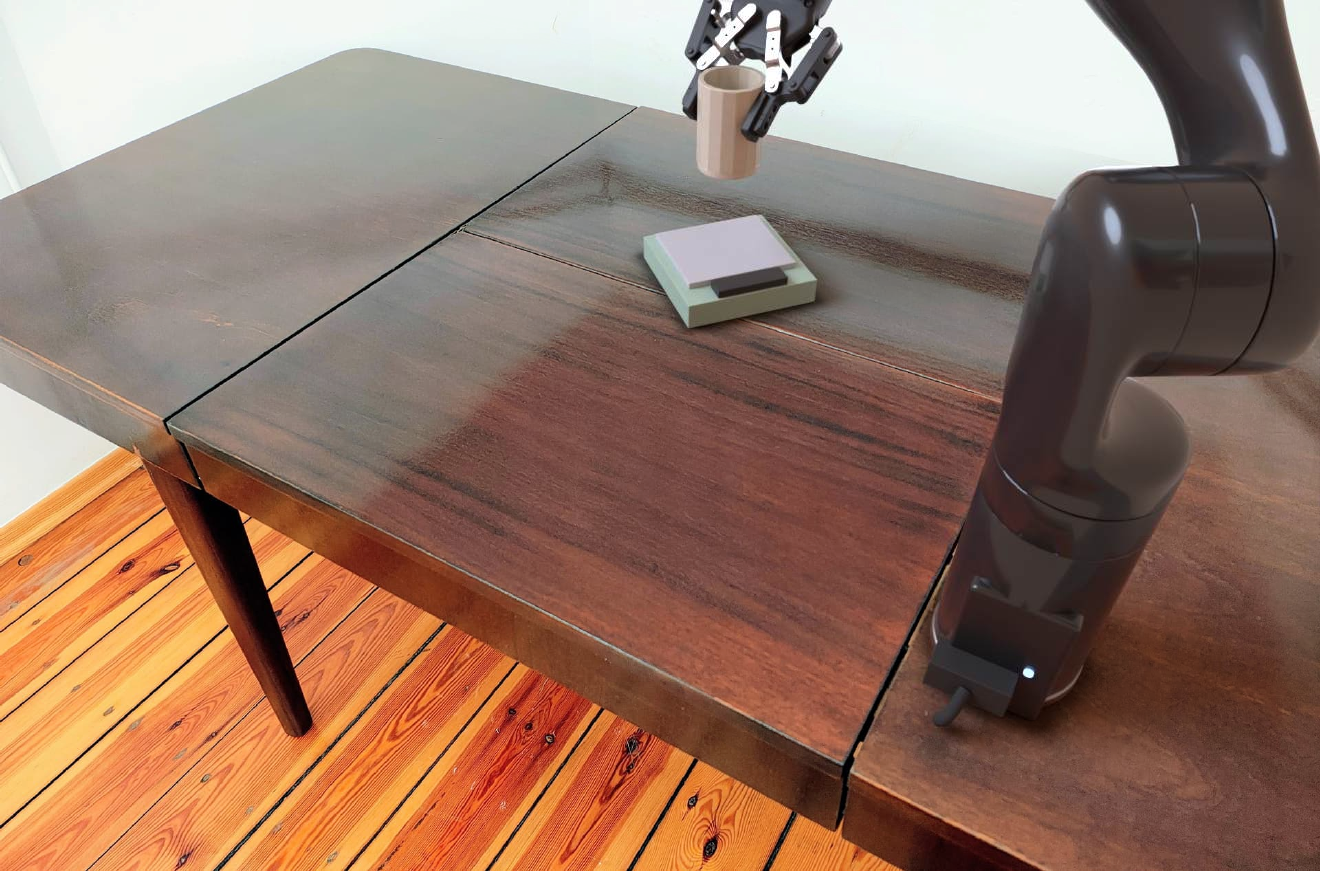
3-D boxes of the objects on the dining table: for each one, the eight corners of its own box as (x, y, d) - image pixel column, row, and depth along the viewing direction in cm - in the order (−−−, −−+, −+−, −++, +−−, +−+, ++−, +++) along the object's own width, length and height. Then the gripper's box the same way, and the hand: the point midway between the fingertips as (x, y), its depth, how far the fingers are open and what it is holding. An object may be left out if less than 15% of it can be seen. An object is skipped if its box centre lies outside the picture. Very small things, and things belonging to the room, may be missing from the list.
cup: (743, 186, 82) (748, 97, 77) (685, 171, 84) (686, 83, 79) (770, 159, 86) (777, 72, 80) (714, 145, 88) (717, 60, 82)
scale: (814, 301, 90) (818, 272, 87) (688, 328, 87) (688, 299, 84) (759, 235, 99) (762, 207, 96) (643, 257, 96) (643, 229, 93)
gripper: (726, -96, 80) (636, 84, 81) (870, -64, 73) (769, 132, 74) (759, -43, 86) (675, 122, 88) (894, -10, 79) (800, 169, 81)
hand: (718, 126), depth 81 cm, fingers closed on cup, 6 cm apart
